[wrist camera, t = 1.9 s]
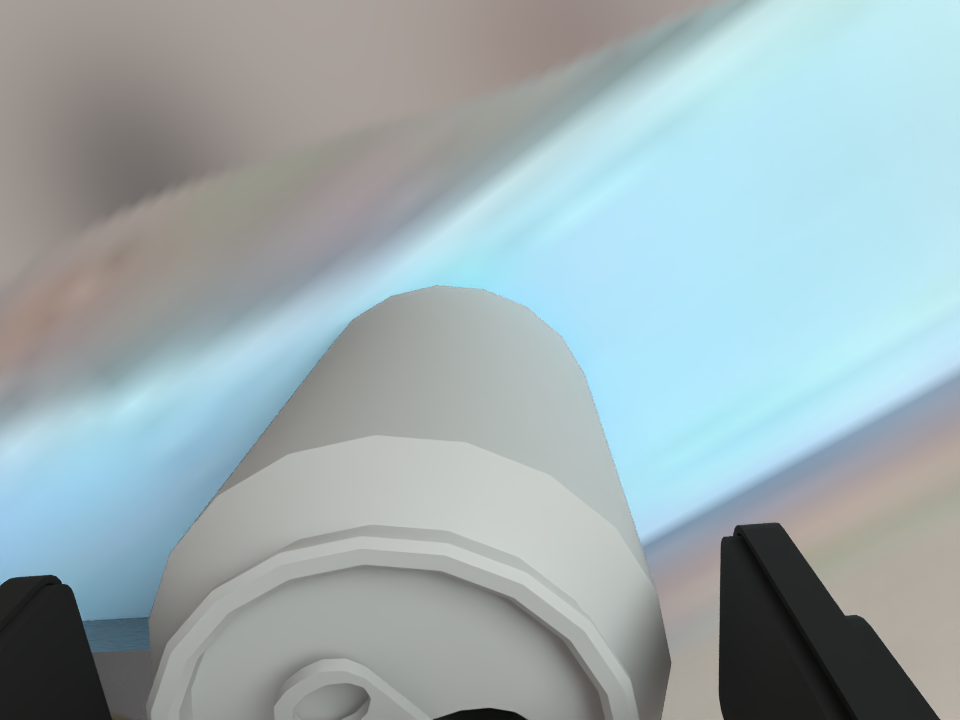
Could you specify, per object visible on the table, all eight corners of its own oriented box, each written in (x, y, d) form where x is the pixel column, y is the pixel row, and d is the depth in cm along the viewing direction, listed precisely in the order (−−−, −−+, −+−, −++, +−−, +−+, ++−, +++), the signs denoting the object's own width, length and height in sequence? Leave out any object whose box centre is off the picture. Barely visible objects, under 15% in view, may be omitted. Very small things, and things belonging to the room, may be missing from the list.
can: (441, 579, 22) (376, 1065, 11) (260, 397, 21) (-43, 739, 9) (645, 428, 21) (826, 809, 9) (465, 218, 19) (410, 360, 8)
